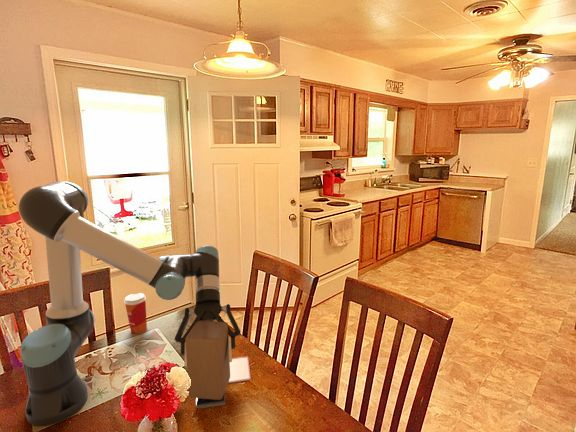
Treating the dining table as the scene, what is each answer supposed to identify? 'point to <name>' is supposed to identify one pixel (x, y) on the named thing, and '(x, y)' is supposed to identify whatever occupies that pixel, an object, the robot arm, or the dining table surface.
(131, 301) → the coffee cup
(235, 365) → the print card
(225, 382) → the block
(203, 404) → the ink pad
